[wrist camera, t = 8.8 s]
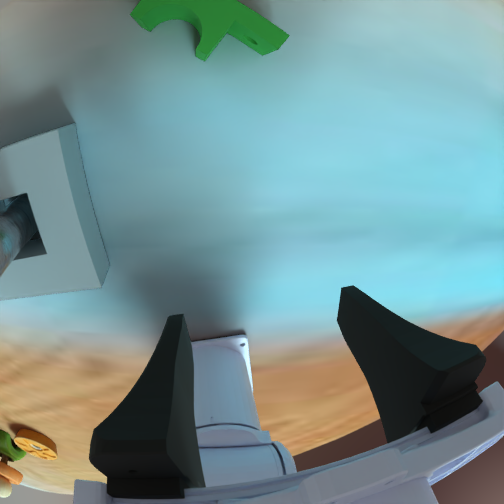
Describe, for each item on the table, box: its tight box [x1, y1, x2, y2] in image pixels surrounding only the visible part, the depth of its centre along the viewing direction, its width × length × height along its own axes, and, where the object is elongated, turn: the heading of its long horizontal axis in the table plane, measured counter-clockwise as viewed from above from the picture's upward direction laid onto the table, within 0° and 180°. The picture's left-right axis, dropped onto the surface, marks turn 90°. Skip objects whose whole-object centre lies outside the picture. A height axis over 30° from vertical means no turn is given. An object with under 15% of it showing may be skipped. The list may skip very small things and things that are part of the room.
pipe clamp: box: [130, 0, 290, 61], centre depth 14 cm, size 10×4×4 cm, turn 55°
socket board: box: [0, 123, 110, 301], centre depth 18 cm, size 11×11×3 cm
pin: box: [0, 193, 38, 277], centre depth 15 cm, size 3×3×9 cm
